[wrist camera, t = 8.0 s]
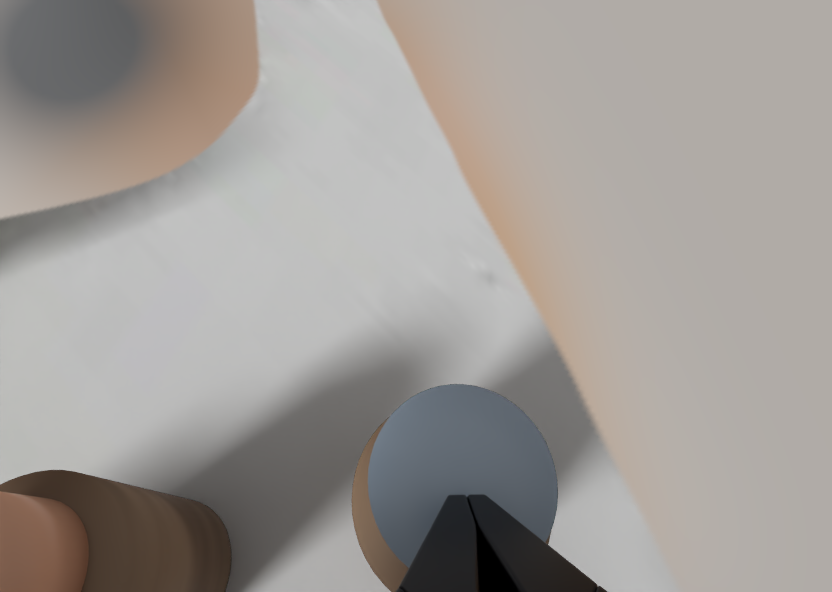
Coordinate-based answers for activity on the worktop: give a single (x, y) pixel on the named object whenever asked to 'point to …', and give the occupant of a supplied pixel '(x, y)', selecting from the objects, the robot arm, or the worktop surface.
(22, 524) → the terracotta button
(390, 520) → the slate-blue button
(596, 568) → the worktop surface
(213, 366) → the worktop surface
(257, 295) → the worktop surface
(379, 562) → the button stands
